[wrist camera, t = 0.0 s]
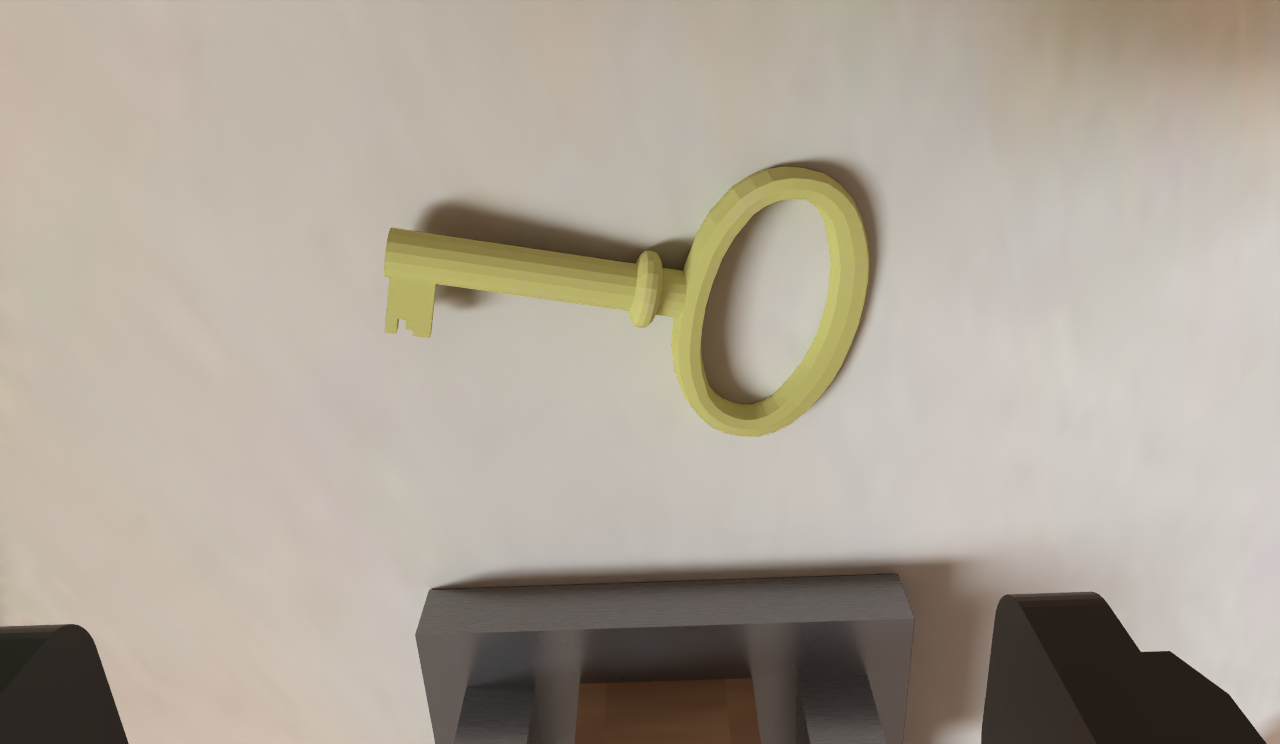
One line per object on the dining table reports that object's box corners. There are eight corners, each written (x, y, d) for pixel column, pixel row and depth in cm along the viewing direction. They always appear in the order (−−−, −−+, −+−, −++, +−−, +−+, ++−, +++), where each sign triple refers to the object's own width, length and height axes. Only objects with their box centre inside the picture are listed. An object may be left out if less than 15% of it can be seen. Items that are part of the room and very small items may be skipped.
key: (374, 213, 25) (353, 240, 23) (861, 149, 24) (880, 171, 23) (437, 455, 28) (422, 496, 26) (870, 404, 28) (887, 443, 26)
